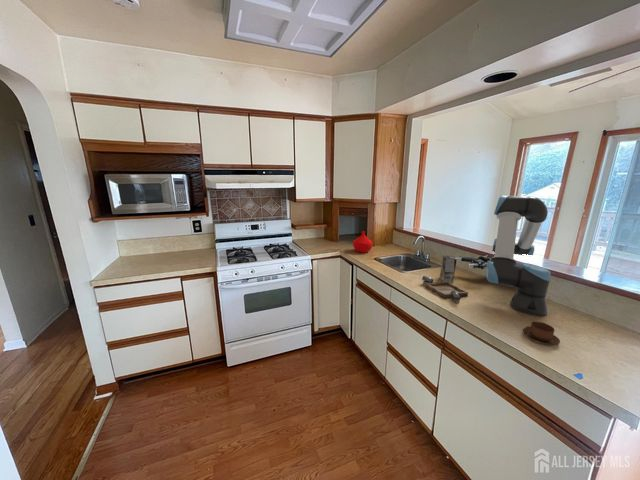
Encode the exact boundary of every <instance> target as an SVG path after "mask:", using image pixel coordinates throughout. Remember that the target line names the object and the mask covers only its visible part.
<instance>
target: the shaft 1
mask: <svg viewBox="0 0 640 480" xmlns="http://www.w3.org/2000/svg"><path fill="white" fill-rule="evenodd" d="M421 280H422V285H425V286H426V284H429V283H434V278H431V277H428V276H426V275H422V277H421Z"/></svg>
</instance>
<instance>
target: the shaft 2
mask: <svg viewBox="0 0 640 480" xmlns="http://www.w3.org/2000/svg"><path fill="white" fill-rule="evenodd" d="M451 295H452V296H453V297H452V298H450V300H451V302H452V303H453V304H460V300H462V297H461V296H460V295H459V294H458V293H457V292H456V291H451Z"/></svg>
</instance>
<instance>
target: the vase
mask: <svg viewBox="0 0 640 480" xmlns="http://www.w3.org/2000/svg"><path fill="white" fill-rule="evenodd" d="M373 244H374V243H373V240H371V239H370V238H369V237H368V236H366V231H365V230H363V231H361V234H360V236H358V237H357V238H355V239H354V240H353V242H352V246H353V248H354V250H355V251H356V252H357V253H363V254H364V253H369V252H370V251H371V249H372V248H373V246H374V245H373Z"/></svg>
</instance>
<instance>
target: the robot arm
mask: <svg viewBox="0 0 640 480" xmlns="http://www.w3.org/2000/svg"><path fill="white" fill-rule="evenodd" d="M548 212H549V211H548V207H547V206H546V204H545V202H544V201H543V200H541V199H540V198H538V197H535V196H529V195H528V196H526V195H525V196H523V195H521V196H520V195H501V196H499V198H498V200H497V203H496V205H495V209H494V213H493V214H494V215H495V216H496V219H497V220H498V225H497V226H498V227H497V232H496V233H497V234H496V238H495V239H494V241H493V244H492V250H491V252H492V251H494V252H495V254H494V257H492V258H491V260H490V259H489V258H488V257H487V256H488V255H480V256H478V257H475V258H474V256H459V255H458V257H454V258H455V259H456V260H457V261H456V263H457V262H459V263H460V262H466V263H469V264H468V266H467V267H468V268H467V269H469V270H470V269H481V270H484V269H485V270H486V272H485V273H486V274H485V275H486V281H487V282H489V283H492V284H495V285H501V286H507V287H511V288H516V292H515V293H514V294H513V296H512V298H511V299H510V302H509V305H510V307H511V308H513V309H515V310H516V311H519V312H520V313H521V312H522V313H524V314H527V315H532V316H546V315H547V314H548V313H547V312H548V306H547V301H546V297H547V293H548V290H549V289H548V288H549V286H550V282H551V271H550V270H548V269H547V268H545V267H542V266H540V265H536V264H532V263H526V262H525V263H522V264H521V265H517V260H516V259H515V258H514V255H517V254H518V255H517V256H523V255H522V254H526V255H527V254H528V255H532V256H533V255H534V253H535V246H534V242H535V239H536V237H537V235H538V233H539V231H540V229H541V228H540V227H541V226H542V223H543V222H545V221H546V220H547V217H548ZM523 217H524V219H525V221H524V223H523V226H522V229H521V233H520V235H519V238H518V240H517V239H516V238H517V230H518V229H517V228H518V222H519V221H520V220H521V219H522V218H523ZM516 240H517V242H516Z"/></svg>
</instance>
